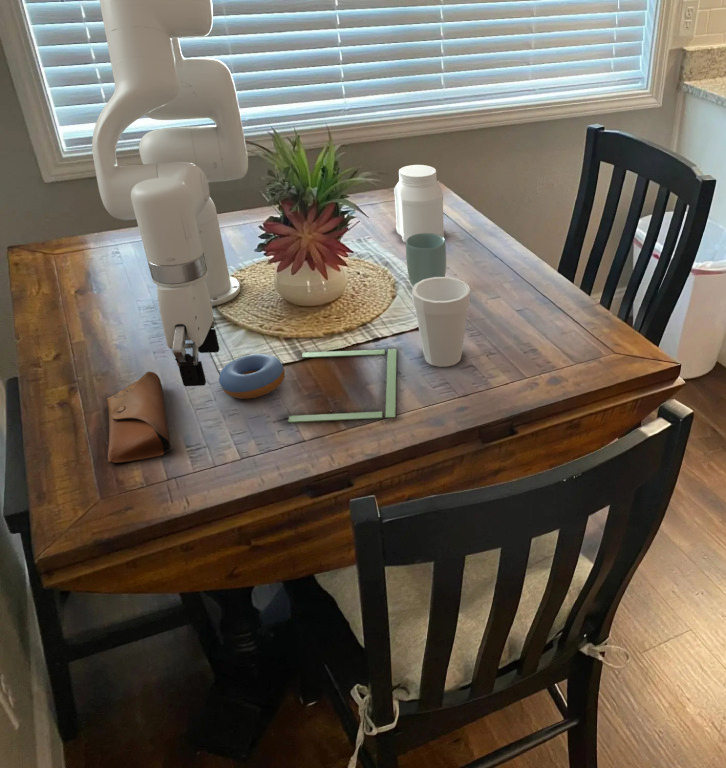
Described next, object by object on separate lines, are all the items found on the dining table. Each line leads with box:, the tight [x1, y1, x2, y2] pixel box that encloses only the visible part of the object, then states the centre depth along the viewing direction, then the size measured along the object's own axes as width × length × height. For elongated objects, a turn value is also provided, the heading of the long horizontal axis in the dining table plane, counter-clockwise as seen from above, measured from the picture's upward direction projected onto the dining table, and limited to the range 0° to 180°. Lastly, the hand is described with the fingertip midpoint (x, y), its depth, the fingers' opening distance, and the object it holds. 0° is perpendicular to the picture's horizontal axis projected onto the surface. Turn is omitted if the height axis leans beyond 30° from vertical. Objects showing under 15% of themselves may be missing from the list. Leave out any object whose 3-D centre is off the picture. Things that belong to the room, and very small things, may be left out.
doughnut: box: [218, 353, 286, 400], centre depth 120 cm, size 10×10×5 cm
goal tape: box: [287, 348, 398, 424], centre depth 122 cm, size 16×20×1 cm
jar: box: [393, 164, 445, 244], centre depth 170 cm, size 12×10×15 cm
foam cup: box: [411, 276, 471, 368], centre depth 126 cm, size 10×9×13 cm
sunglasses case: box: [106, 371, 171, 464], centre depth 111 cm, size 18×7×7 cm, turn 26°
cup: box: [405, 233, 447, 288], centre depth 149 cm, size 8×8×10 cm
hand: (202, 367), depth 117 cm, fingers open, 9 cm apart
